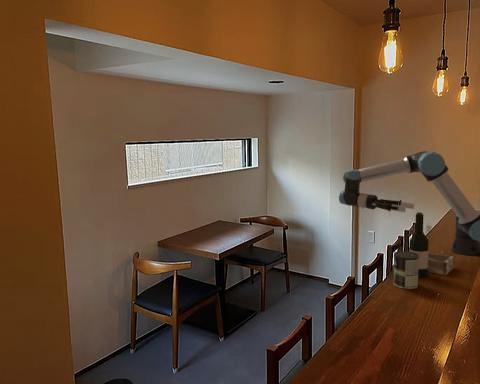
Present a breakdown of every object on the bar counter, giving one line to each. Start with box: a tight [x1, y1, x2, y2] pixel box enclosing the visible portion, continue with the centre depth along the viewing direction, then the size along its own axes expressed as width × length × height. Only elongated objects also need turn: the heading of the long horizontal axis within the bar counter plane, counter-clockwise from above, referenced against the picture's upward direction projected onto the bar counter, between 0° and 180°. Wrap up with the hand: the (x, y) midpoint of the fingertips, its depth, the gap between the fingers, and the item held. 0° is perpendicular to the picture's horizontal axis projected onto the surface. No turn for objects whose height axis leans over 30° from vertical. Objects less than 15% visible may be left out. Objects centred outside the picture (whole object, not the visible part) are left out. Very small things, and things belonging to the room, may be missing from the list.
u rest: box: [428, 251, 455, 276], centre depth 194 cm, size 12×12×6 cm
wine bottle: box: [408, 211, 429, 279], centre depth 185 cm, size 8×8×30 cm
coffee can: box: [392, 250, 419, 290], centre depth 175 cm, size 10×10×14 cm
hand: (409, 207), depth 195 cm, fingers open, 13 cm apart
